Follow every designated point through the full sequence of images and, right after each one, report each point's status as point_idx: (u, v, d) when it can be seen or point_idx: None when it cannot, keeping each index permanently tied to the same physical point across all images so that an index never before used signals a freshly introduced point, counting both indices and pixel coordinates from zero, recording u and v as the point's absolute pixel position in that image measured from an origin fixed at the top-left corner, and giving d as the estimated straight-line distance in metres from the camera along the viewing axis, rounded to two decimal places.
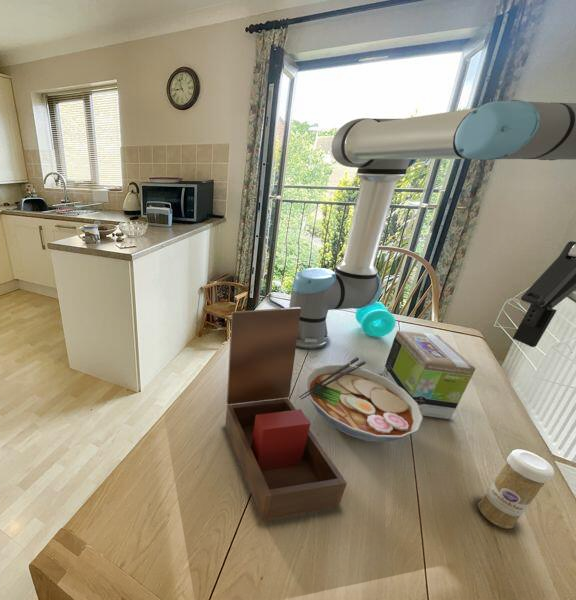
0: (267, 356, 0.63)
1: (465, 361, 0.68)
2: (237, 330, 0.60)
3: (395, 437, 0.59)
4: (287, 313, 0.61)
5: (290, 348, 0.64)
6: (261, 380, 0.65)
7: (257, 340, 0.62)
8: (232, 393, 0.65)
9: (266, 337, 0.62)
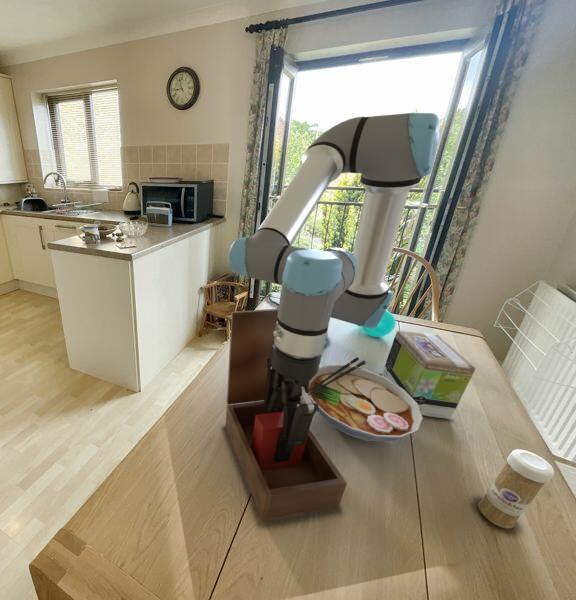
0: (267, 356, 0.63)
1: (465, 361, 0.68)
2: (237, 330, 0.60)
3: (395, 437, 0.59)
4: None
5: None
6: (261, 380, 0.65)
7: (257, 340, 0.62)
8: (232, 393, 0.65)
9: (266, 337, 0.62)
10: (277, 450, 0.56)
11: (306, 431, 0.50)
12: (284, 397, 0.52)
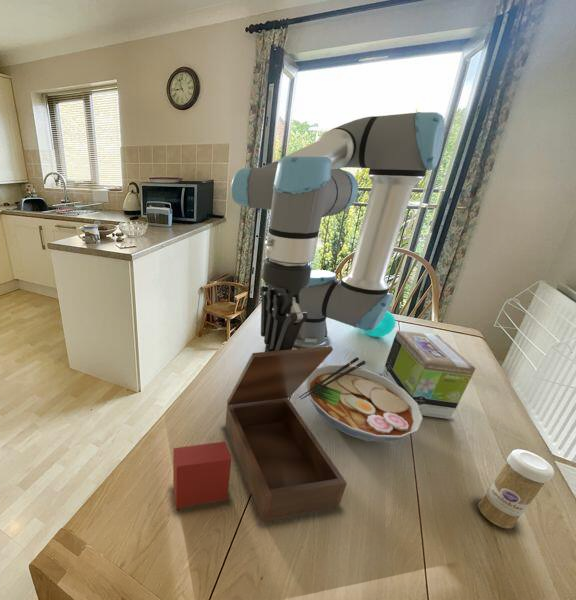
0: (279, 379, 0.59)
1: (465, 361, 0.68)
2: (254, 367, 0.53)
3: (395, 437, 0.59)
4: (315, 353, 0.52)
5: (306, 373, 0.58)
6: (266, 392, 0.63)
7: (273, 371, 0.55)
8: (234, 399, 0.64)
9: (284, 369, 0.55)
10: None
11: (293, 340, 0.52)
12: (275, 311, 0.53)
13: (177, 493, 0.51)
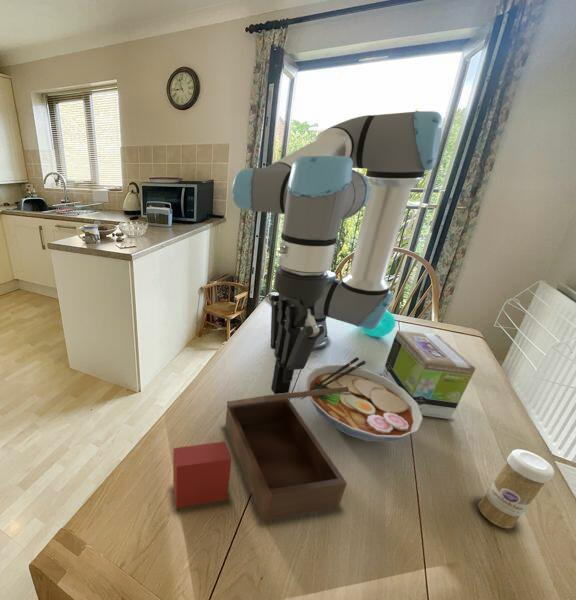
0: None
1: (465, 361, 0.68)
2: None
3: (395, 437, 0.59)
4: None
5: None
6: None
7: None
8: None
9: None
10: (276, 381, 0.55)
11: (307, 355, 0.48)
12: (287, 323, 0.49)
13: (177, 493, 0.51)
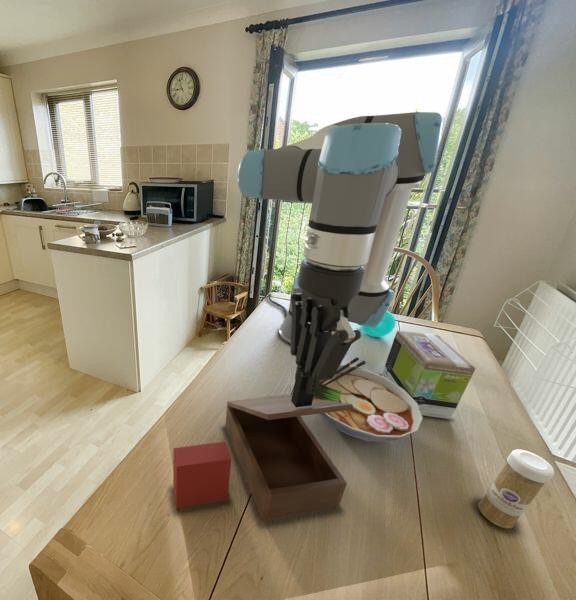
0: None
1: (465, 361, 0.68)
2: None
3: (395, 437, 0.59)
4: None
5: None
6: None
7: None
8: None
9: None
10: (297, 392, 0.48)
11: (337, 364, 0.41)
12: (314, 326, 0.42)
13: (177, 493, 0.51)
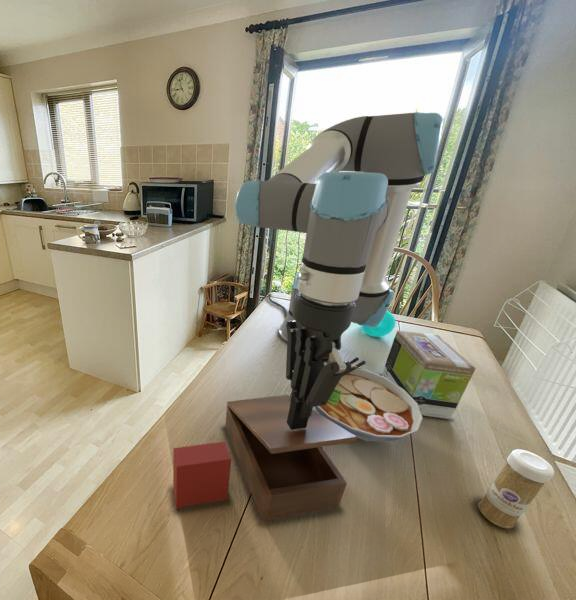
0: None
1: (465, 361, 0.68)
2: None
3: (395, 437, 0.59)
4: None
5: None
6: None
7: None
8: None
9: None
10: (293, 415, 0.50)
11: (330, 392, 0.43)
12: (307, 355, 0.44)
13: (177, 493, 0.51)
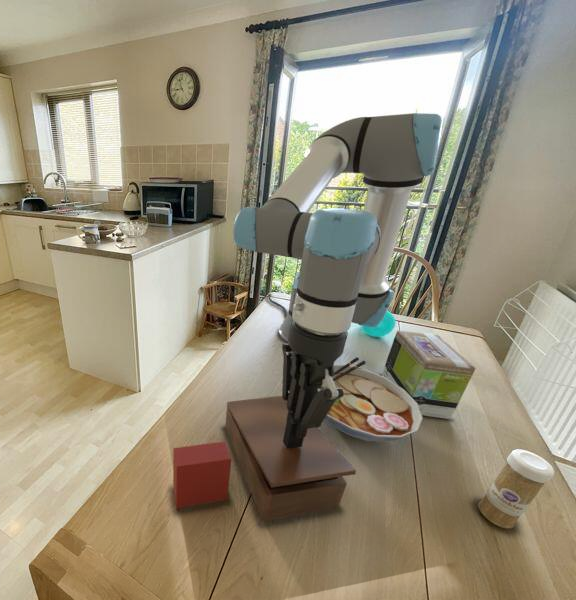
0: None
1: (465, 361, 0.68)
2: None
3: (395, 437, 0.59)
4: None
5: None
6: None
7: None
8: None
9: None
10: (288, 435, 0.52)
11: (324, 415, 0.45)
12: (302, 380, 0.46)
13: (177, 493, 0.51)
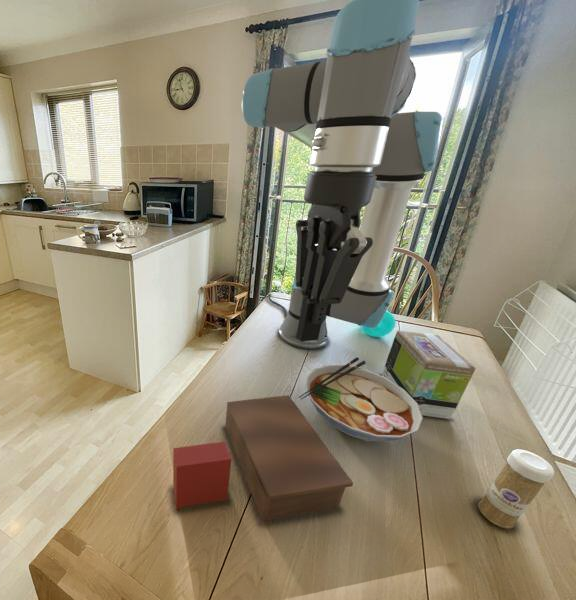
0: None
1: (465, 361, 0.68)
2: None
3: (395, 437, 0.59)
4: None
5: None
6: None
7: None
8: None
9: None
10: (303, 324, 0.45)
11: (347, 283, 0.39)
12: (321, 243, 0.39)
13: (177, 493, 0.51)
